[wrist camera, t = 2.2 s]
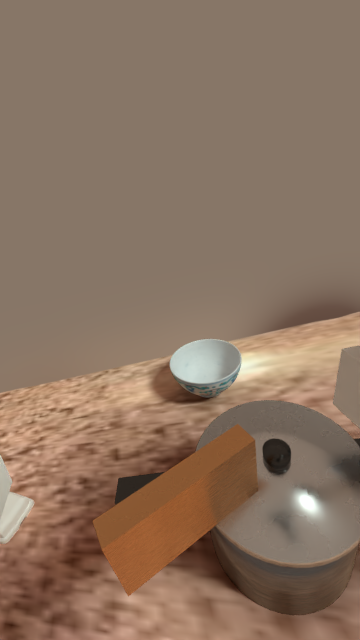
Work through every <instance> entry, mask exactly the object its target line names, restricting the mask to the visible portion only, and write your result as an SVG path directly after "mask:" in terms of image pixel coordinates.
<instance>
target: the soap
mask: <svg viewBox="0 0 360 640" xmlns="http://www.w3.org/2000/svg"><path fill="white" fill-rule="evenodd" d="M33 505H34V501H33V500H32V499H30V498H28V497H25V496H22V495H19V494H17V493H13V492H10V491H9V494H8V497H7V500H6V503H5V506H4V510H3V513H2V516H1V519H0V544H6V543H8V542H9V541H10V539H11V538H12V537H13V536H14V534H15V533H16V532H17V530H18V529H19V528H20V527H19V525H20V524H21V523H22V521H23V520H24V518H25V517H27V516H28V514H29V512H30V511H31V509H32V507H33Z"/></svg>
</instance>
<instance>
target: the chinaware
mask: <svg viewBox="0 0 360 640" xmlns="http://www.w3.org/2000/svg"><path fill="white" fill-rule="evenodd" d="M241 359H242V358H241V353H240V351H239V350H238V349H237V348H236V347H235V346H234V345H233V344H231V343H229V342H226V341H223V340H217V339H204V340H198V341H194V342H191V343H188V344H186V345H184V346H182V347H181V348H179V349H178V350H177V351H176V352H175V353H174V354H173V356H172V357H171V359H170V370H171V372H172V374H173V376H174V378H175V379H176V381H177V382H178V383H179V384H180V385H181V386H182V387H183V388H184V389H186V390H187V391H189V392H191V393H193V394H196V395H199V396H201V397H207V398H208V397H214V396H217V395H219V394H220V393H221V392H223V391H224V390H226V389H227V388H228V387H229V386H231V384H232V383H233V382H234V381H235V379H236V377H237V375H238V373H239V370H240V366H241Z"/></svg>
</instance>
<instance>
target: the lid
mask: <svg viewBox="0 0 360 640" xmlns="http://www.w3.org/2000/svg"><path fill="white" fill-rule="evenodd" d="M92 522H93V525H94V528H95V531H96V534H97V537H98V540H99V543H100V546H101V549H102V551H103V553H104V555H105V556H106V558H107V560H108V561H109V563H110V565H111V567H112V568H113V570H114V572H115V574H116V575H117V577H118V579H119V580H120V582H121V584H122V586H123V587H124V589H125V591H126V593H127V594H128V596H129V595H131V594H132V593H133V592H134V591H136V590H137V589H138V588H139V587H140V586H142V585H143V584H144V583H145V582H147V581H148V580H149V579H150V578H152V577H153V576H154V575H155V574H156V573H158V572H159V571H160V570H161V569H163V568H164V567H165V566H166V565H168V564H169V563H170V562H171V561H173V560H174V559H175V558H176V557H177V556H179V555H180V554H181V553H182V552H184V551H185V550H186V549H187V548H189V547H190V546H191V545H192V544H193V543H195V542H196V541H197V540H198V539H200V538H201V537H202V536H203V535H205V534H206V533H207V532H208V531H209V530H211V529H212V528H213V527H214V526H216V528H217V529H218V530H219V531H220V532H221V533H222V534H223V535H224V536H225V537H226V538H227V539H228V540H229V541H230V542H231V543H233V544H234V545H235V546H237V547H238V548H239V549H241V550H242V551H244V552H246V553H248V554H249V555H251V556H253V557H255V558H258V559H260V560H262V561H265V562H267V563H271V564H275V565H279V566H284V567H292V568H311V567H316V566H321V565H325V564H328V563H331V562H333V561H336V560H338V559H340V558H341V557H343V556H345V555H346V554H348V553H349V552H350V551H352V550H353V549H354V548H355V547H356V546H357V545H358V544H359V543H360V447H359V446H358V444H357V443H356V442H355V440H354V439H353V438H352V437H351V436H350V435H349V434H348V433H347V432H346V431H345V430H344V429H343V428H341V427H340V426H339V425H338V424H336V423H335V422H334V421H332V420H331V419H329V418H328V417H326V416H324V415H323V414H321V413H319V412H317V411H314V410H312V409H310V408H307V407H304V406H302V405H298V404H294V403H290V402H284V401H274V400H264V401H254V402H249V403H245V404H242V405H238V406H236V407H234V408H231V409H229V410H228V411H226V412H224V413H223V414H221V415H220V416H218V417H217V418H216V419H215V420H214V421H213V422H212V423H211V424H210V425H209V426H208V427H207V428H206V430H205V431H204V433H203V434H202V436H201V438H200V440H199V442H198V445H197V448H196V452H195V453H193V454H192V455H190V456H189V457H187V458H186V459H184V460H183V461H181V462H180V463H178V464H177V465H175V466H174V467H172V468H171V469H169V470H168V471H166V472H165V473H163V474H162V475H160V476H159V477H157V478H156V479H154V480H153V481H151V482H150V483H148V484H147V485H145V486H144V487H142V488H141V489H139V490H138V491H136V492H135V493H133V494H132V495H130V496H129V497H127V498H126V499H124V500H123V501H121V502H120V503H118V504H117V505H115V506H114V507H112V508H111V509H109V510H108V511H106V512H105V513H103V514H102V515H100V516H99V517H97V518H96V519H94V520H93V521H92Z"/></svg>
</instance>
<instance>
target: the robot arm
mask: <svg viewBox="0 0 360 640" xmlns="http://www.w3.org/2000/svg"><path fill="white" fill-rule="evenodd" d="M333 404H334V405H335V406H336V407H337V408H338V409H339V410H340V411H341V412H342V413H343V414H344V415H346V416H347V417H348V418H349V419H350V420H351V421H352V422H353V423H354V424H355V425H356V426H357V427H359V428H360V346H354V347H350V348H345V349H342V352H341V358H340V364H339V369H338V375H337V381H336V387H335V393H334V399H333ZM11 484H12V480H11V477H10V475H9V473H8V471H7V469H6V466H5V464H4V462H3V460H2V457H1V455H0V519H1V516H2V513H3V510H4V506H5V503H6V500H7V497H8V494H9V490H10V487H11Z"/></svg>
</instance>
